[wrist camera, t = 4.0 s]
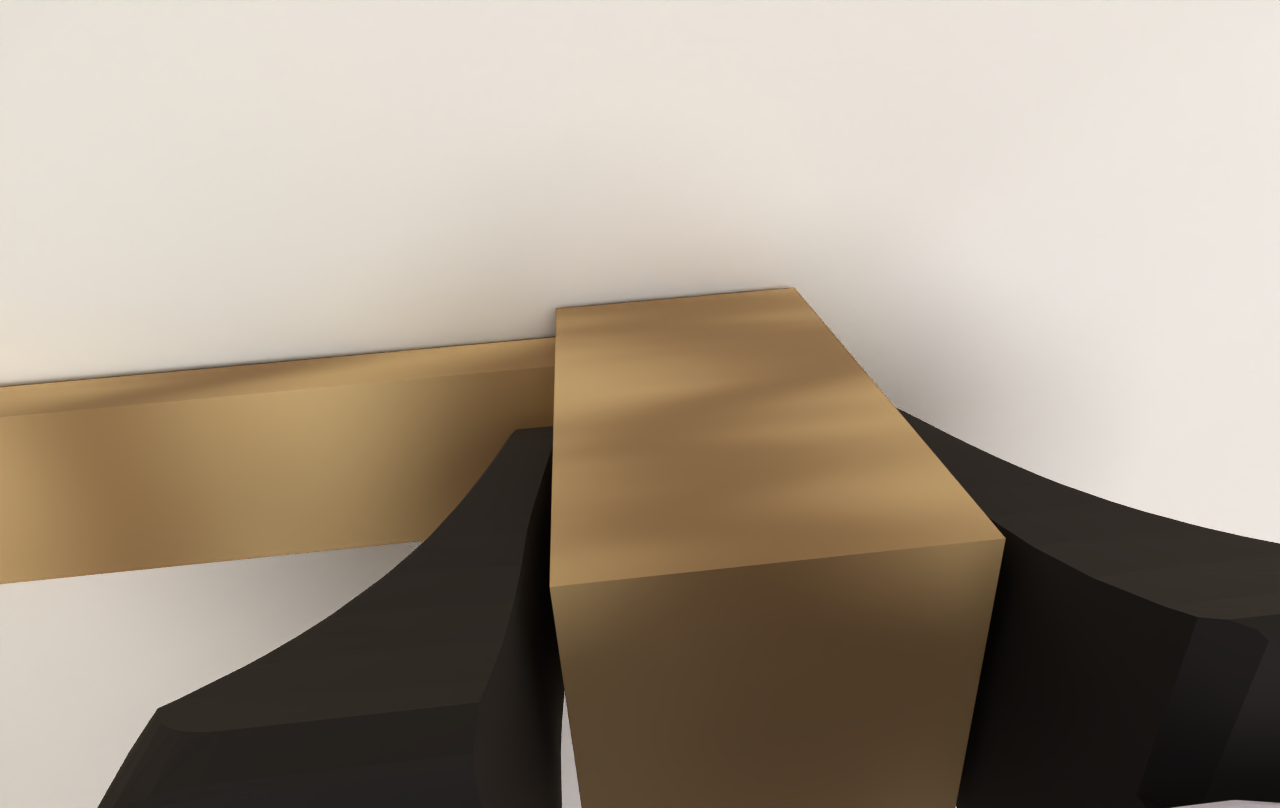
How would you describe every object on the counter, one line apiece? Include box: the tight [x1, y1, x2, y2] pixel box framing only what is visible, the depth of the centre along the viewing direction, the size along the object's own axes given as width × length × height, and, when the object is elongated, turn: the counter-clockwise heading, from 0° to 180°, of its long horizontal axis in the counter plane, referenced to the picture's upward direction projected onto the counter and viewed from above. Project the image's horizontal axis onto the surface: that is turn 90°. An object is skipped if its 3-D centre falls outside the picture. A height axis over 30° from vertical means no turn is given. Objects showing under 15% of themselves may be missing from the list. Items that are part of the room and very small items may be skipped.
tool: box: [0, 288, 1006, 808], centre depth 10 cm, size 17×4×7 cm, turn 94°
